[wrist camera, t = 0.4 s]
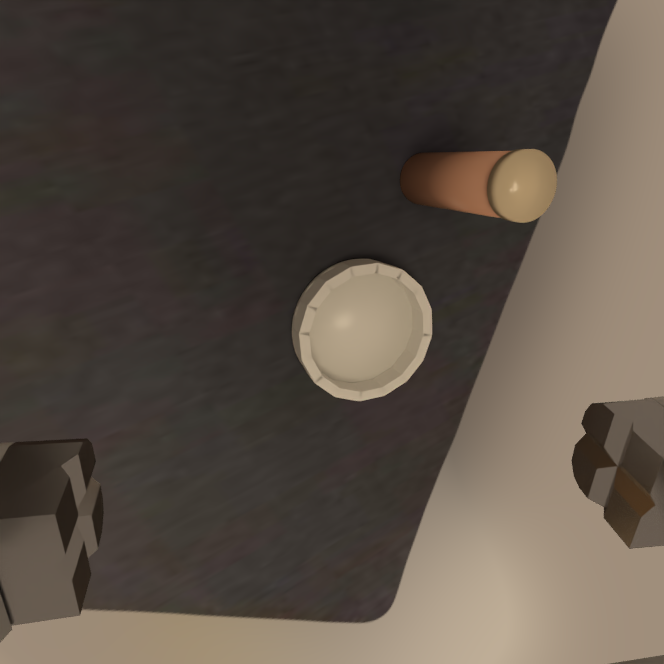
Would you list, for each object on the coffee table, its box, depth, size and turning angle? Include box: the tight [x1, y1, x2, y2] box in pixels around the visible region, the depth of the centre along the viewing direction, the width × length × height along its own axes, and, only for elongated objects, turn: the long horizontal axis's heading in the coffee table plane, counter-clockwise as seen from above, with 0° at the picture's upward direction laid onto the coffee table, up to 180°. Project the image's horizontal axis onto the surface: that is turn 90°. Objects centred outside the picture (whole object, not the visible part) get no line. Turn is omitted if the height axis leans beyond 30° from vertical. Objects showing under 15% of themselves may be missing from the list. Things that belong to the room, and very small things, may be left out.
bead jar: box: [400, 149, 557, 223], centre depth 47 cm, size 5×5×16 cm
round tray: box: [292, 258, 432, 401], centre depth 55 cm, size 14×14×3 cm
